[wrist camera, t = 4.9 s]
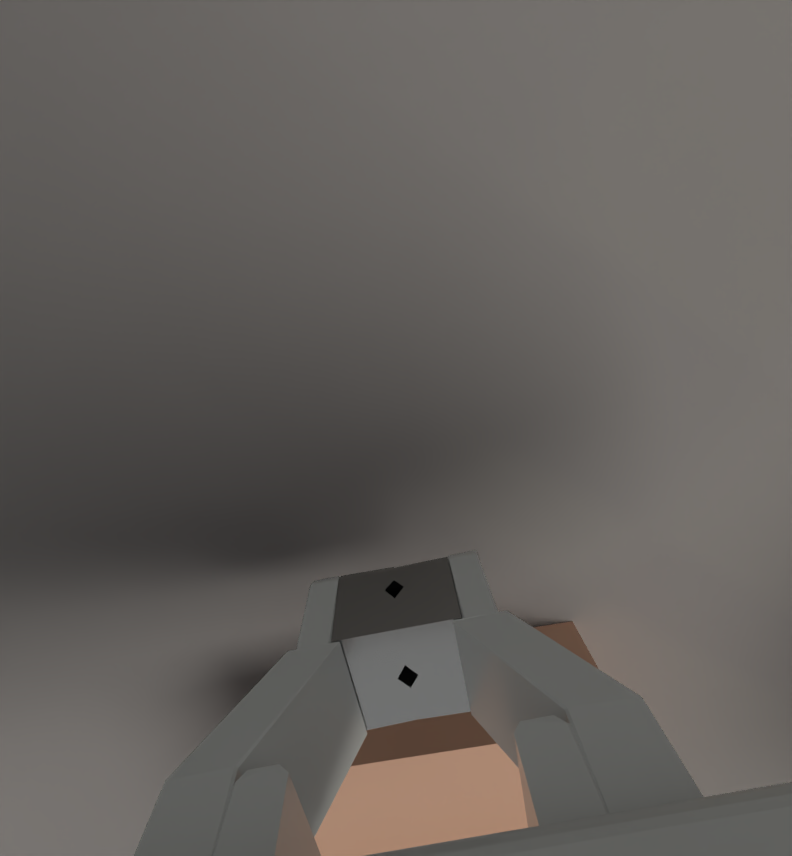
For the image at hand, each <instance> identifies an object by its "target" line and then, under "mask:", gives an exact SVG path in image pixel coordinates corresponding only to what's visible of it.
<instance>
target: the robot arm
mask: <svg viewBox="0 0 792 856" xmlns="http://www.w3.org/2000/svg"><path fill="white" fill-rule="evenodd" d="M465 712H471V715H472V716H473V717H474V718H475V719H476V720H477V721H478V723H479V724H480V725H481V726H482V727H483V728H484V729H485V731H486V732H487V733H488V734H489V735H490V736H491V737H492V738H493V740H494V741H495V742H496V743H497V744H498V745H499V746H500V748H501V749H502V750H503V751H504V752H505V753H506V754H507V756H508V757H509V758H510V759H511V760H512V761H513V762H514V764H515V765H516V766H517V767H518V768H519V771H520V778H521V785H522V791H523V798H524V804H525V811H526V817H527V824H528V828H523V829H517V830H511V831H505V832H500V833H494V834H488V835H482V836H476V837H470V838H464V839H459V840H453V841H447V842H441V843H435V844H429V845H423V846H417V847H412V848H406V849H400V850H394V851H388V852H382V853H376V854H370V855H365V856H792V782H789V783H783V784H777V785H771V786H766V787H760V788H754V789H748V790H742V791H736V792H730V793H725V794H719V795H713V796H707V797H703V795H702V794H701V792H700V790H699V789H698V787H697V786H696V784H695V782H694V781H693V779H692V777H691V776H690V774H689V773H688V771H687V769H686V768H685V766H684V764H683V763H682V761H681V760H680V758H679V756H678V755H677V753H676V751H675V750H674V748H673V747H672V745H671V743H670V742H669V740H668V738H667V737H666V735H665V734H664V732H663V730H662V729H661V727H660V726H659V724H658V722H657V721H656V719H655V717H654V716H653V714H652V713H651V711H650V709H649V708H648V706H647V704H646V703H645V701H644V700H643V698H642V697H641V696H640V695H638V694H636V693H635V692H633V691H632V690H630V689H629V688H627V687H625V686H624V685H622V684H621V683H619V682H618V681H616V680H615V679H613V678H611V677H610V676H608V675H607V674H605V673H604V672H602V671H600V670H599V669H597V668H596V667H594V666H593V665H591V664H590V663H588V662H586V661H585V660H583V659H582V658H580V657H579V656H577V655H576V654H574V653H572V652H571V651H569V650H568V649H566V648H565V647H563V646H561V645H560V644H558V643H557V642H555V641H554V640H552V639H551V638H549V637H547V636H546V635H544V634H543V633H541V632H540V631H538V630H536V629H535V628H533V627H532V626H530V625H529V624H527V623H526V622H524V621H522V620H521V619H519V618H518V617H516V616H515V615H513V614H512V613H510V612H508V611H501V612H498V610H497V608H496V605H495V602H494V599H493V596H492V593H491V591H490V588H489V585H488V582H487V579H486V576H485V574H484V571H483V568H482V565H481V562H480V559H479V556H478V554H477V552H476V551H475V550H472V551H468V552H464V553H459V554H455V555H450V556H448V557H444V558H439V559H434V560H429V561H424V562H420V563H415V564H410V565H405V566H400V567H395V568H394V567H391V568H385V569H379V570H373V571H367V572H361V573H355V574H349V575H343V576H341V577H339V576H338V577H332V578H327V579H322V580H317V581H314V582H313V583H312V584H311V586H310V589H309V593H308V598H307V602H306V607H305V611H304V616H303V620H302V625H301V629H300V634H299V639H298V643H297V648H296V650H291V651H287V652H286V653H285V654H284V656H283V657H282V658H281V659H280V660H279V661H278V662H277V663H276V664H275V665H274V666H273V667H272V668H271V669H270V670H269V671H268V673H267V674H266V675H265V676H264V677H263V678H262V679H261V680H260V681H259V682H258V683H257V684H256V685H255V686H254V687H253V688H252V689H251V691H250V692H249V693H248V694H247V695H246V696H245V697H244V698H243V699H242V700H241V701H240V702H239V703H238V704H237V705H236V706H235V708H234V709H233V710H232V711H231V712H230V713H229V714H228V715H227V716H226V717H225V718H224V719H223V720H222V721H221V722H220V723H219V725H218V726H217V727H216V728H215V729H214V730H213V731H212V732H211V733H210V734H209V735H208V736H207V737H206V738H205V739H204V740H203V741H202V743H201V744H200V745H199V746H198V747H197V748H196V749H195V750H194V751H193V752H192V753H191V754H190V755H189V756H188V757H187V758H186V760H185V761H184V762H183V763H182V764H181V765H180V766H179V767H178V768H177V769H176V770H175V771H174V772H173V773H172V774H171V775H170V776H169V778H168V779H167V780H166V781H165V783H164V785H163V788H162V790H161V792H160V795H159V797H158V800H157V802H156V804H155V807H154V809H153V811H152V814H151V816H150V819H149V821H148V823H147V826H146V828H145V830H144V833H143V835H142V838H141V840H140V842H139V845H138V847H137V849H136V852H135V854H134V856H321V854H320V851H319V849H318V846H317V844H316V841H315V838H314V837H315V835H316V833H317V831H318V829H319V827H320V825H321V823H322V821H323V819H324V818H325V816H326V814H327V812H328V810H329V808H330V806H331V804H332V802H333V800H334V798H335V796H336V794H337V792H338V790H339V788H340V786H341V784H342V782H343V780H344V778H345V777H346V775H347V773H348V771H349V769H350V767H351V765H352V763H353V761H354V759H355V757H356V755H357V753H358V751H359V749H360V747H361V745H362V743H363V741H364V739H365V737H366V736H367V731H366V730H371V729H375V728H380V727H385V726H390V725H394V724H399V723H404V722H408V721H413V720H418V718H419V719H425V718H431V717H438V716H445V715H451V714H458V713H465Z"/></svg>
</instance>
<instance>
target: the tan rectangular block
mask: <svg viewBox="0 0 792 856" xmlns="http://www.w3.org/2000/svg"><path fill="white" fill-rule="evenodd" d="M533 628H535V629H536V630H538V631H540V632H541V633H543V634H544V635H546V636H547V637H549V638H551V639H552V640H554V641H555V642H557V643H558V644H560V645H561V646H563V647H565V648H566V649H568V650H569V651H571V652H572V653H574V654H576V655H577V656H579V657H580V658H582V659H583V660H585V661H586V662H588V663H590V664H591V665H593V666H594V667H596V668H597V669H598V667H597V665H596V663H595V662H594V660H593V658H592V656H591V654H590V653H589V651H588V649H587V647H586V645H585V644H584V642H583V640H582V638H581V636H580V634H579V633H578V631H577V629H576V627H575V625H574V624H573V622H572V621H570V622H564V623H558V624H551V625H545V626H539V627H533ZM366 731H367V736H366V737H365V739H364V741H363V743H362V745H361V747H360V749H359V751H358V753H357V755H356V757H355V759H354V761H353V763H352V765H351V767H350V769H349V771H348V773H347V775H346V777H345V778H344V780H343V782H342V784H341V786H340V788H339V790H338V792H337V794H336V796H335V798H334V800H333V802H332V804H331V806H330V808H329V810H328V812H327V814H326V816H325V818H324V819H323V821H322V823H321V825H320V827H319V829H318V831H317V833H316V835H315V837H314V838H315V841H316V844H317V846H318V849H319V851H320V854H321V856H365V855H370V854H376V853H382V852H388V851H394V850H400V849H406V848H412V847H417V846H423V845H429V844H435V843H441V842H447V841H453V840H459V839H464V838H470V837H476V836H482V835H488V834H494V833H500V832H505V831H511V830H517V829H523V828H528V824H527V817H526V811H525V804H524V798H523V791H522V785H521V778H520V771H519V768H518V767H517V766H516V765H515V764H514V762H513V761H512V760H511V759H510V758H509V757H508V756H507V754H506V753H505V752H504V751H503V750H502V749H501V748H500V746H499V745H498V744H497V743H496V742H495V741H494V740H493V738H492V737H491V736H490V735H489V734H488V733H487V732H486V731H485V729H484V728H483V727H482V726H481V725H480V724H479V723H478V721H477V720H476V719H475V718H474V717H473V716H472V715H471V712H465V713H458V714H451V715H445V716H438V717H431V718H425V719H419V718H418V720H413V721H408V722H404V723H399V724H394V725H390V726H385V727H380V728H375V729H371V730H366Z"/></svg>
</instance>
